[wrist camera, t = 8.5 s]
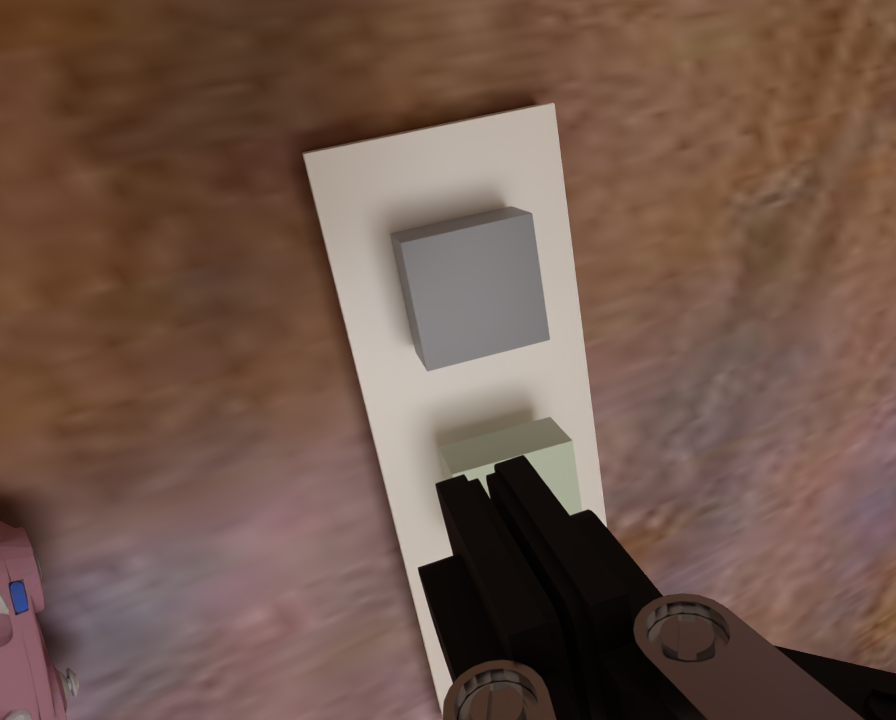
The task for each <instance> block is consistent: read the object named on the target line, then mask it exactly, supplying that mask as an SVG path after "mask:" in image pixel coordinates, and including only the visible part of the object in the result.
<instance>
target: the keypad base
mask: <svg viewBox="0 0 896 720" xmlns="http://www.w3.org/2000/svg"><path fill="white" fill-rule="evenodd" d="M302 155H303V159H304V163H305V167H306V172H307V176H308V180H309V184H310V188H311V192H312V196H313V200H314V204H315V208H316V212H317V216H318V220H319V224H320V228H321V232H322V236H323V240H324V244H325V248H326V252H327V256H328V260H329V264H330V268H331V272H332V276H333V280H334V284H335V288H336V292H337V296H338V300H339V304H340V309H341V313H342V317H343V321H344V325H345V329H346V333H347V337H348V341H349V345H350V349H351V353H352V357H353V361H354V365H355V369H356V373H357V377H358V381H359V385H360V389H361V393H362V397H363V401H364V405H365V409H366V413H367V417H368V421H369V425H370V429H371V433H372V437H373V441H374V446H375V450H376V454H377V458H378V462H379V466H380V470H381V474H382V478H383V482H384V486H385V490H386V494H387V498H388V502H389V506H390V510H391V514H392V518H393V522H394V526H395V530H396V534H397V538H398V542H399V546H400V550H401V554H402V558H403V562H404V566H405V570H406V574H407V578H408V582H409V587H410V591H411V595H412V599H413V603H414V607H415V611H416V615H417V619H418V623H419V627H420V631H421V635H422V639H423V643H424V647H425V651H426V655H427V659H428V663H429V667H430V671H431V675H432V679H433V683H434V687H435V691H436V695H437V699H438V703H439V707H440V711H441V715H442V719H443V704H444V699H445V697H446V695H447V692H448V690H449V688H450V687H451V685H452V684H453V683H452V680H451V677H450V674H449V671H448V668H447V665H446V662H445V659H444V656H443V653H442V650H441V646H440V643H439V640H438V637H437V634H436V631H435V628H434V624H433V621H432V618H431V614H430V611H429V608H428V604H427V601H426V597H425V594H424V590H423V587H422V583H421V580H420V576H419V572H418V567H421V566H424V565H427V564H430V563H432V562H435V561H438V560H441V559H444V558H447V557H450V556H453V553H452V549H451V546H450V542H449V538H448V534H447V530H446V526H445V522H444V518H443V515H442V511H441V507H440V503H439V499H438V495H437V491H436V486H435V483H438V482H441V481H444V480H446V479H445V475H444V470H443V465H442V460H441V456H440V451H439V447H442V446H446V445H449V444H453V443H457V442H460V441H464V440H467V439H471V438H475V437H478V436H482V435H486V434H489V433H493V432H496V431H500V430H504V429H507V428H511V427H515V426H518V425H522V424H526V423H529V422H533V421H536V420H540V419H544V418H547V417H551V418H552V419H553V420H554V421H555V422H556V423H557V424H558V426H559V427H560V428H561V429H562V430H563V431H564V432H565V433H566V434H567V435H568V436H569V437H570V438H571V439H572V440H573V447H574V454H575V462H576V469H577V476H578V484H579V491H580V498H581V505H582V511H584V510H587V509H589V510H592V511H593V512H594V513H595V514H596V515H597V516H598V518H599V519H600V520H601V521H602V523H603V524H604V525H605V526H606V527H607V524H606V516H605V508H604V500H603V492H602V484H601V476H600V468H599V460H598V452H597V444H596V436H595V428H594V419H593V411H592V403H591V395H590V387H589V379H588V371H587V363H586V355H585V347H584V339H583V331H582V323H581V315H580V307H579V298H578V290H577V282H576V274H575V266H574V258H573V250H572V242H571V234H570V226H569V218H568V210H567V202H566V194H565V185H564V177H563V169H562V161H561V153H560V145H559V137H558V129H557V121H556V113H555V105H554V103H547V104H536V105H531V106H527V107H522V108H517V109H512V110H507V111H502V112H497V113H492V114H487V115H482V116H478V117H473V118H468V119H463V120H458V121H453V122H448V123H443V124H438V125H433V126H429V127H424V128H419V129H414V130H409V131H404V132H399V133H394V134H389V135H385V136H380V137H375V138H370V139H365V140H360V141H355V142H350V143H345V144H340V145H336V146H331V147H326V148H321V149H316V150H311V151H306V152H302ZM510 206H513V207H516V208H519V209H521V210H524V211H527V212H530V213H532V215H533V222H534V229H535V236H536V243H537V250H538V257H539V264H540V272H541V279H542V286H543V293H544V300H545V307H546V314H547V321H548V328H549V335H550V340H548V341H544V342H540V343H536V344H532V345H528V346H524V347H521V348H517V349H513V350H509V351H505V352H501V353H497V354H493V355H490V356H486V357H482V358H478V359H474V360H470V361H466V362H462V363H458V364H455V365H451V366H447V367H443V368H439V369H435V370H431V371H427V370H426V369H425V367H424V365H423V364H422V362H421V360H420V359H419V357H418V355H417V354H416V352H415V348H414V343H413V338H412V334H411V329H410V324H409V320H408V315H407V310H406V306H405V301H404V296H403V292H402V287H401V282H400V278H399V273H398V268H397V264H396V259H395V254H394V250H393V245H392V240H391V236H390V233H394V232H399V231H403V230H408V229H412V228H417V227H421V226H425V225H430V224H434V223H439V222H443V221H448V220H452V219H456V218H461V217H465V216H470V215H474V214H479V213H483V212H487V211H492V210H496V209H501V208H505V207H510Z"/></svg>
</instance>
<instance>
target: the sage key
mask: <svg viewBox="0 0 896 720" xmlns="http://www.w3.org/2000/svg"><path fill="white" fill-rule="evenodd" d="M439 451H440V456H441V460H442V465H443V470H444V475H445V479H446V480H447V479H450V478H453V477H456V476H459V475H462V474H465V476H466V477H467V479H468V481H470V480H473V479H476V478H478V479H479V480H480V482H481V484H482V485H483V487H484V489H485V491H486V492H487V494H488V496H489V497H490V495H489V491H488V486H487V482H486V475H488V474H492V473H495V471H494V465H495V464H496V463H499V462H503V461H506V460H509V459H512V458H515V457H518V456H521V455H524V456H525V457H526V458H527V459H528V461H529V462H530V463H531V465H532V466H533V467H534V469H535V470H536V471H537V473H538V474H539V475H540V477H541V478H542V479H543V481H544V482H545V483H546V485H547V486H548V487H549V489H550V490H551V491H552V493H553V494H554V495H555V496H556V498H557V499H558V500H559V502H560V503H561V504H562V506H563V507H564V508H565V510H566V511H567V512H568V514H569V515H573V514H576V513H579V512H581V511H582V505H581V498H580V491H579V484H578V476H577V469H576V462H575V454H574V447H573V440H572V439H571V438H570V437H569V436H568V435H567V434H566V433H565V432H564V431H563V430H562V429H561V428H560V427H559V426H558V424H557V423H556V422H555V421H554V420H553V419H552V418H551V417H547V418H544V419H540V420H536V421H533V422H529V423H526V424H522V425H518V426H515V427H511V428H507V429H504V430H500V431H496V432H493V433H489V434H486V435H482V436H478V437H475V438H471V439H467V440H464V441H460V442H457V443H453V444H449V445H446V446H442V447H439Z"/></svg>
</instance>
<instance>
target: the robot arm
mask: <svg viewBox="0 0 896 720" xmlns="http://www.w3.org/2000/svg"><path fill="white" fill-rule="evenodd" d="M494 471H495V473H492V474H488V475H486V482H487V486H488V491H489V495H490V497H489V496H488V494H487V492H486V491H485V489H484V487H483V485H482V484H481V482H480V480H479V479H478V478H476V479H473V480H470V481H468V479H467V477H466V476H465V474H462V475H459V476H456V477H453V478H450V479H447V480H444V481H441V482H438V483H435V486H436V491H437V495H438V499H439V503H440V507H441V511H442V515H443V518H444V522H445V526H446V530H447V534H448V538H449V542H450V546H451V549H452V553H453V556H450V557H447V558H444V559H441V560H438V561H435V562H432V563H430V564H427V565H424V566H421V567H418V572H419V576H420V580H421V583H422V587H423V590H424V594H425V597H426V601H427V604H428V608H429V611H430V614H431V618H432V621H433V624H434V628H435V631H436V634H437V637H438V640H439V643H440V646H441V650H442V653H443V656H444V659H445V662H446V665H447V668H448V671H449V674H450V677H451V680H452V683H453V684H452V685H451V687H450V688H449V690H448V692H447V695H446V697H445V699H444V704H443V720H896V674H895V673H891V672H887V671H882V670H878V669H874V668H869V667H865V666H861V665H856V664H852V663H848V662H843V661H839V660H835V659H830V658H826V657H821V656H817V655H813V654H808V653H804V652H800V651H795V650H791V649H787V648H782V647H778V646H774V645H772V644H771V643H770V642H768V641H767V640H766V639H765V638H763V637H762V636H761V635H760V634H758V633H757V632H756V631H755V630H754V629H752V628H751V627H750V626H749V625H747V624H746V623H745V622H744V621H742V620H741V619H740V618H739V617H738V616H736V615H735V614H734V613H733V612H731V611H730V610H729V609H728V608H726V607H725V606H723V605H721V604H720V603H718V602H716V601H715V600H712V599H709V598H706V597H703V596H700V595H694V594H684V593H682V594H673V595H666V596H662V594H661V593H660V592H659V591H658V589H657V588H656V587H655V586H654V585H653V583H652V582H651V581H650V580H649V579H648V577H647V576H646V575H645V574H644V572H643V571H642V570H641V569H640V568H639V566H638V565H637V564H636V563H635V561H634V560H633V559H632V558H631V557H630V555H629V554H628V553H627V552H626V551H625V549H624V548H623V547H622V546H621V544H620V543H619V542H618V541H617V540H616V538H615V537H614V536H613V535H612V533H611V532H610V531H609V530H608V529H607V527H606V526H605V525H604V524H603V523H602V521H601V520H600V519H599V518H598V516H597V515H596V514H595V513H594V512H593V511H592V510H589V509H587V510H584V511H581V512H579V513H576V514H573V515H569V514H568V512H567V511H566V510H565V508H564V507H563V506H562V504H561V503H560V502H559V500H558V499H557V498H556V496H555V495H554V494H553V493H552V491H551V490H550V489H549V487H548V486H547V485H546V483H545V482H544V481H543V479H542V478H541V477H540V475H539V474H538V473H537V471H536V470H535V469H534V467H533V466H532V465H531V463H530V462H529V461H528V459H527V458H526V457H525V456H524V455H521V456H518V457H515V458H512V459H509V460H506V461H503V462H499V463H496V464H495V465H494Z"/></svg>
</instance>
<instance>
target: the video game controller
mask: <svg viewBox="0 0 896 720" xmlns="http://www.w3.org/2000/svg"><path fill="white" fill-rule="evenodd" d="M41 582H42V572H41V567H40V563H39V560H38V557H37V554H36V553H35V552H34V551H33V548H32V546H31V543H30V541H29V538H28V536H27V533H26V531H25V529H24V527H18V528H13V527H11V526H9V525H7V524H6V523H4V522H2V521H0V720H67V718H66V709H67V704H66V701H67V699H68V696H69V691H70V690H71V692H72V694H73V696H74V697H76V696H77V692H78V688H79V682H78V679H77V676H76V674H75V673H73V671H72V670H70V669H69V668H67V670H66V672H67V677H68V678H66V677H65V676H64V675H63V674H62V673H61V672H59V671H58V670H57V669H56V668H55V667H54V666H53V665H52V662H51V659H50V657H49V654H48V651H47V648H46V645H45V642H44V638H43V635H42V632H41V629H40V625H39V622H38V619H37V616H36V613H38V612H41V611H43V610H44V597H43V589H42V584H41Z"/></svg>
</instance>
